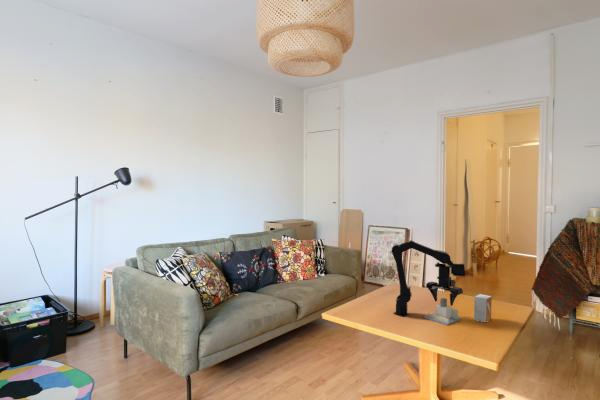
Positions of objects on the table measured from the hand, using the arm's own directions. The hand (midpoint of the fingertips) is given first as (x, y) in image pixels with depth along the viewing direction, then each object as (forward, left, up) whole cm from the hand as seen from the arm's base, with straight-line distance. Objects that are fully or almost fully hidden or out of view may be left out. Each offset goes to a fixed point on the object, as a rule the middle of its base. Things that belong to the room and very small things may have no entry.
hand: (443, 303), depth 195 cm
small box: (+15, -14, -8) cm, 22 cm away
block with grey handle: (0, 0, -8) cm, 8 cm away
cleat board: (-1, 0, -8) cm, 8 cm away
